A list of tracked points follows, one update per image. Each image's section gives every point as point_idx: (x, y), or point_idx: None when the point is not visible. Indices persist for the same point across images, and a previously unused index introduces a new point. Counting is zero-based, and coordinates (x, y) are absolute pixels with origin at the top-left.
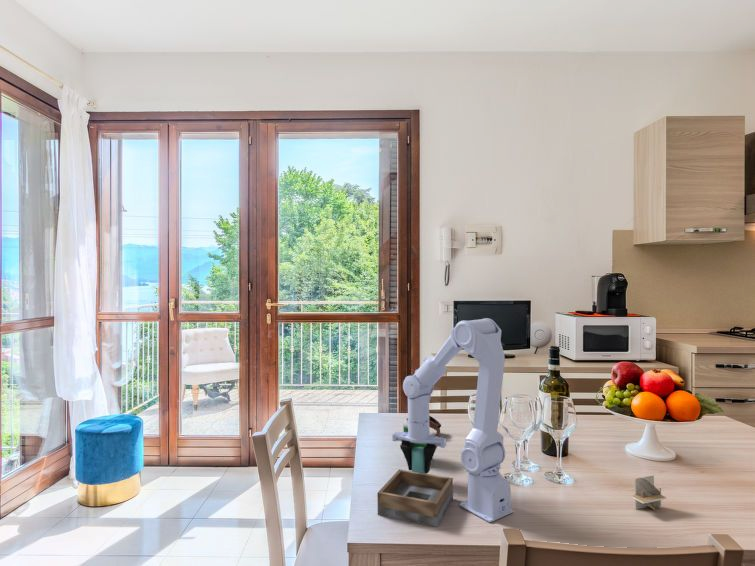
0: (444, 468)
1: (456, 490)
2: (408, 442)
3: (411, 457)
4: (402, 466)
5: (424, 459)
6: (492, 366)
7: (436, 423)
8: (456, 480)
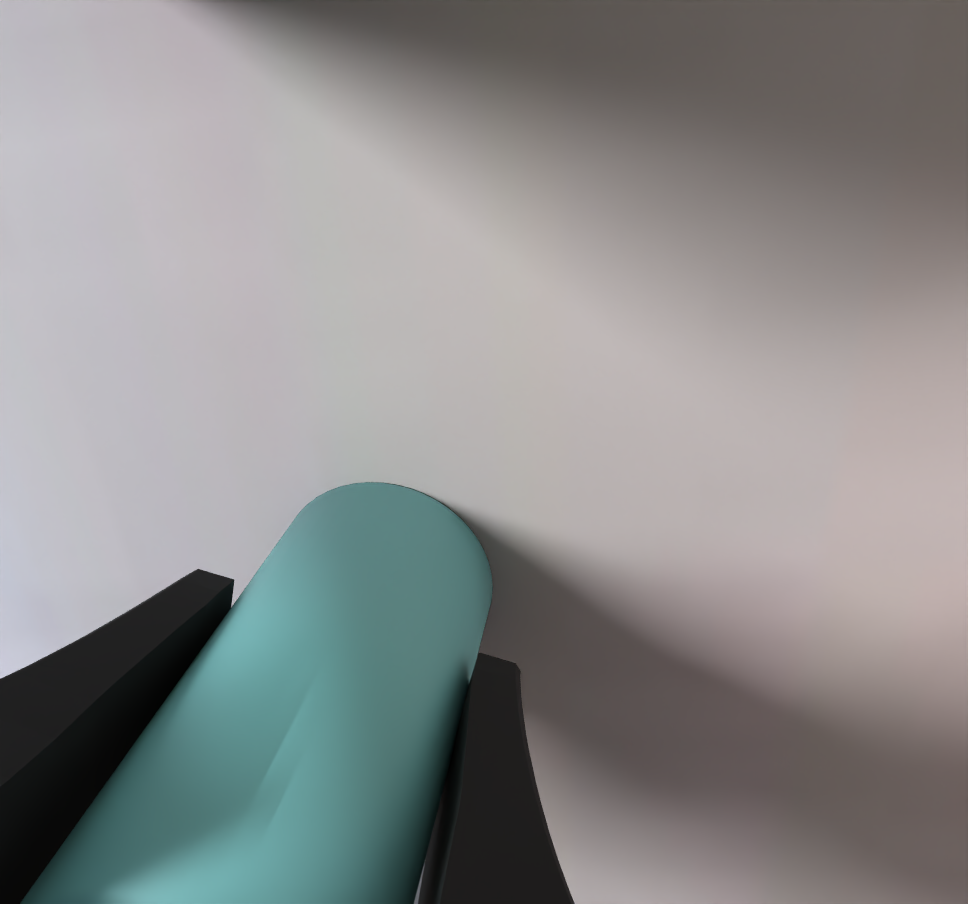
0: (827, 101)
1: (887, 840)
2: None
3: (108, 775)
4: (12, 113)
5: None
6: None
7: None
8: (961, 591)
